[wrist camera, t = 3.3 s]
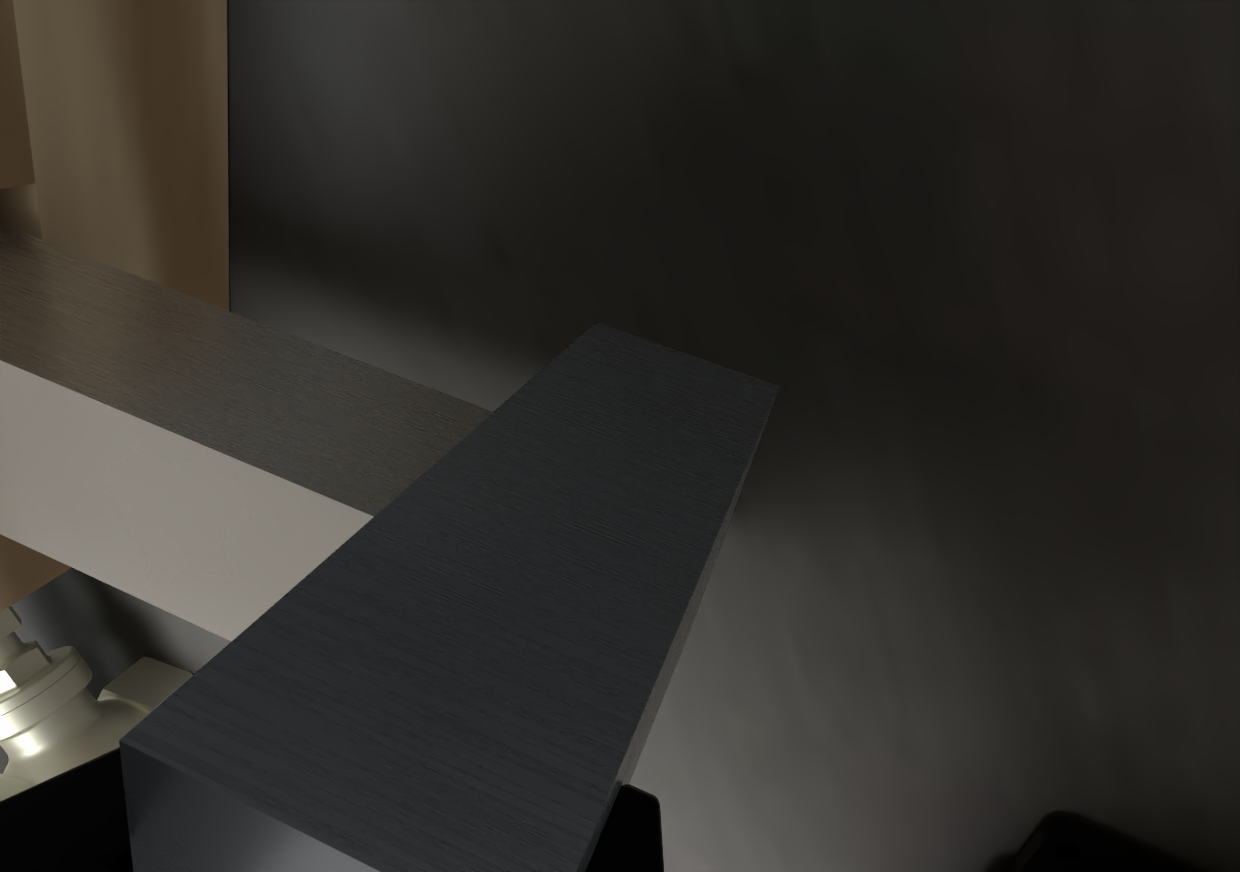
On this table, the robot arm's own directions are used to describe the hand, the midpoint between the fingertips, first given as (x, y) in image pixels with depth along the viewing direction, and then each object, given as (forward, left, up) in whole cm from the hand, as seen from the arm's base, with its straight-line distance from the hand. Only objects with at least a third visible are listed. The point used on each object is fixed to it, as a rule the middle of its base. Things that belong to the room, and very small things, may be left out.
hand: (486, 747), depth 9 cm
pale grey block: (+7, 0, -6) cm, 9 cm away
